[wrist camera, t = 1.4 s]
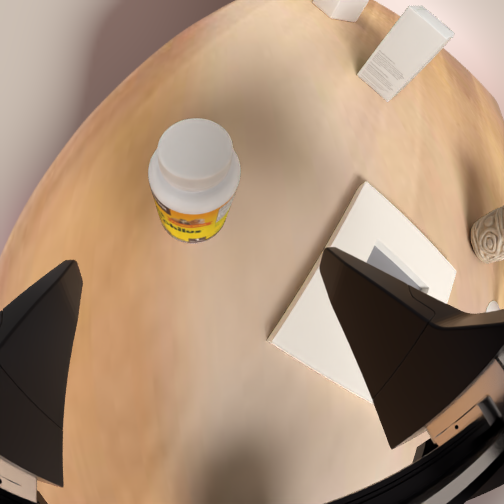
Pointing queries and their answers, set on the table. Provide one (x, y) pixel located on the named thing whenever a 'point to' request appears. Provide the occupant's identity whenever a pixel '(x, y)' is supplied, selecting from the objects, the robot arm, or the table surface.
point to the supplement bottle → (194, 179)
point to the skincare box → (405, 51)
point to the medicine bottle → (341, 8)
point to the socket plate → (376, 254)
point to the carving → (489, 236)
